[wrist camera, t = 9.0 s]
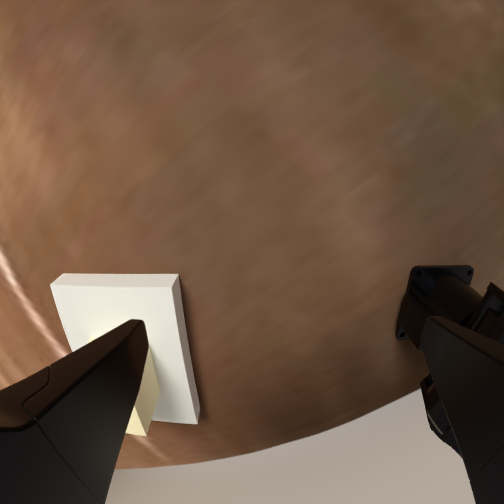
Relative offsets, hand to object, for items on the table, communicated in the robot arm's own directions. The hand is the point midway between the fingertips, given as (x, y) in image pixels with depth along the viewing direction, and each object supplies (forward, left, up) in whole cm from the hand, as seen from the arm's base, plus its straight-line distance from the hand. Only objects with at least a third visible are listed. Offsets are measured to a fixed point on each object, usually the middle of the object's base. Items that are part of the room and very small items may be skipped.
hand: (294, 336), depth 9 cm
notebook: (+11, +11, -12) cm, 20 cm away
